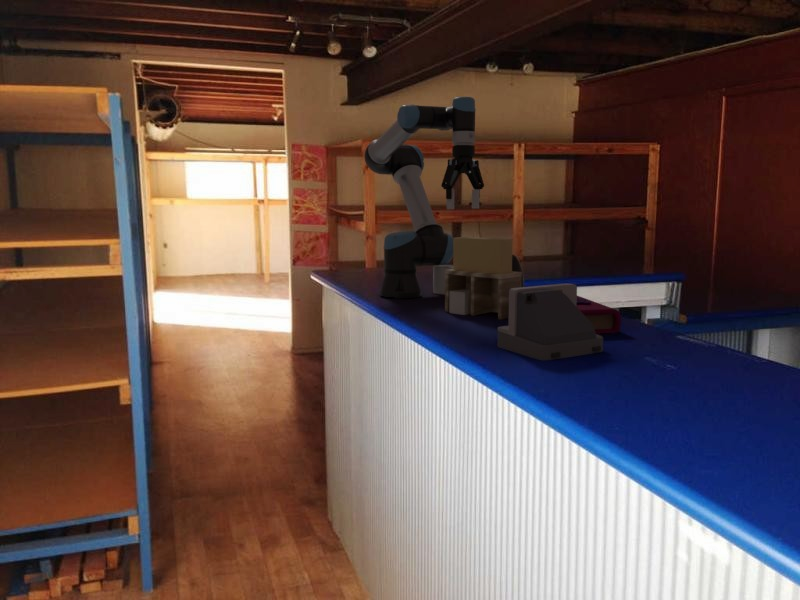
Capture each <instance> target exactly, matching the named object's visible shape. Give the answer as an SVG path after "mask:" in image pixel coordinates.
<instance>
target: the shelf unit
mask: <svg viewBox="0 0 800 600" xmlns="http://www.w3.org/2000/svg"><path fill="white" fill-rule="evenodd" d="M521 279H522V272H515V271H512V272H510V273H503V274H496V273H485V272H473V271H462V270H453V269H449V270H445V294H444V312H447V313H449V297H450V291H453V290H459V289H465V288H466V289H471V314H470V316H473V317H474V316H478V315H483V314H487V313H497V320H506V319H509V291H510V289H511V288H519V287H521Z"/></svg>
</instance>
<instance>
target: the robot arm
mask: <svg viewBox="0 0 800 600" xmlns="http://www.w3.org/2000/svg"><path fill="white" fill-rule="evenodd" d="M476 110H477V109H476V100H475V98H474V97H472V96H457V97H454V98H453V99H452V105H450V106H437V105H436V106H433V105H419V104H417V105H416V104H404V105H401V106H400V107H399V109H398V111H397V115H396V118H397V120H395V122H394V123H392V124H391V126H390V127H389V128H388V129H386V131H384V132H383V134H382V135H381V136H379V138H378V139H374V140H372V141H371V142H370V143H369V144H368V145H367V146H366V148H365V150H364V157H363V158H364V162H365V164H366V166H367V168H369V170H370V171H372V172H373V173H376V174H379V175H388V176H389V175H391V176H392V179H393V181H394V182H395V183H396V184H398V185H399V188H400V190H401V194H402V196H403V199H404V203H405V205H406V208H407V211H408V214H409V217H410V220H411V223H412V226H413V229H414V230H405V231H396V232H392V233H388V234H387V235H385V236H384V239H383V240H384V243H383V252H384V253H383V260H384V262H383V263H384V264H383V265H384V266H383V267H384V276H383V279H382V283H381V287H380V289H379V296H380V295H382V296H386V297H396V298H395V299H413V298H414V299H415V298H418V297H421V296H422V289H421V287H420V283H419V279H418V277H417V267H425V266H426V267H427V266H438V265H448V263H450V262H451V260H452V259H453V238H454V237H453V235H452V234H450V233H448V232H444V228H443V226H442V225H441V224H439V223H437V221H436V217H435V216H434V213H433V209H432V207H431V205H430V202H429V198H428V196H427V193H426V191H425V190H426V189H425V188H424V185H423V182H422V179H421V175H422V173H423V170H424V167H425V162H424V154H423V152H422V150H421V149H420V147H418V146H417V145H413V144H405V143H406V142H407V141H408V140H409V139H411V137H413V135H415V134H416V132H418V131H419V130H421V129H423V130H426V129H427V130H428V129H429V130H438V131H450V130H452V133H451V134H452V135H451V137H452V139H451V143H452V151H451V153H452V154H451V155H452V157H453V158H449V159H448V160H447V167H446V170H445V173H444V176H443V179H442V182H441V187H442V189H443V190H445V199H446V210H455V188H454V186H455V185H456V183H457V181H458V179H459V177H460V175H462V174H465V175H466V177H467V178H468V180H469V182H470V183H471V187H472V188H473V189H471V209H480V198H481V190H483V188H485V184H484V179H483V177H482V173H481V170H480V164H479V160H478V159H474V160H473V158H474V157H475V154H476V153H475V152H476V149H475V148H476V147H475V145H474V144H475V141H476V137H475V136H476V133H475V132H476ZM453 188H454V189H453Z"/></svg>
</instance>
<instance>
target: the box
mask: <svg viewBox="0 0 800 600" xmlns="http://www.w3.org/2000/svg"><path fill="white" fill-rule="evenodd" d="M448 313H449V314H455V315H461V316H467V315H471V289H466V288H465V289H459V290H453V291H450V297H449V312H448Z"/></svg>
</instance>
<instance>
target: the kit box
mask: <svg viewBox="0 0 800 600" xmlns="http://www.w3.org/2000/svg"><path fill="white" fill-rule="evenodd" d="M512 254H513V239H512V238H499V237H498V238H496V237H495V238H493V237H476V236H475V237H474V236H473V237H472V236H461V237H460V236H459V237H453V256H452V259H453V261H452V263H453V264H452V265H453V270H462V271H473V272H485V273H496V274H503V273H510V272H512Z"/></svg>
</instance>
